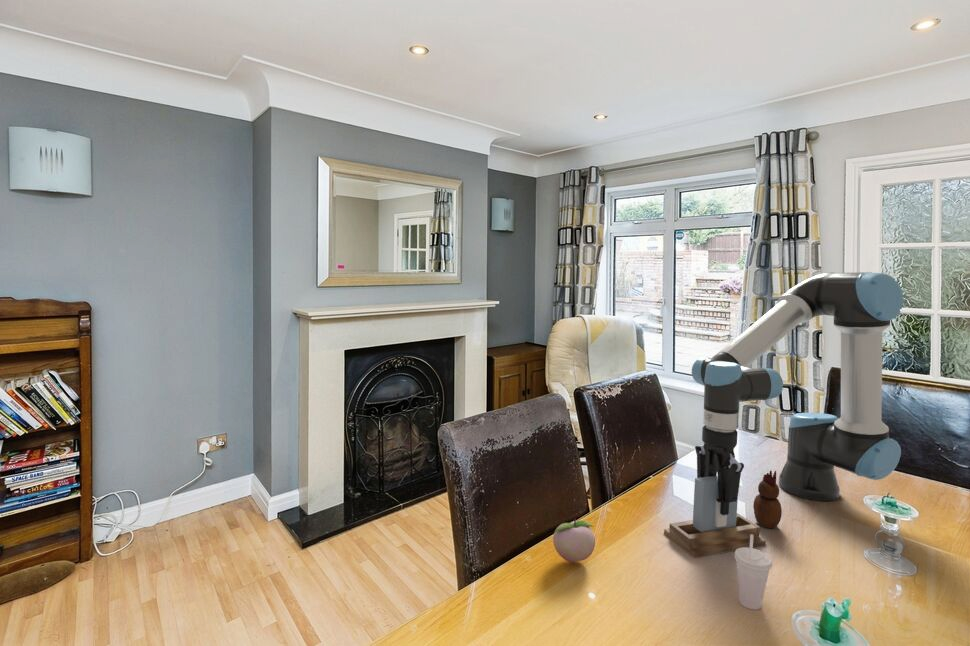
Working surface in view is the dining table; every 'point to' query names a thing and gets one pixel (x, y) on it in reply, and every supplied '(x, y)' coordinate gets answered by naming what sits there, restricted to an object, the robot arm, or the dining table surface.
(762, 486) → the wooden figurine
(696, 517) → the gray rectangular block
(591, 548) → the decorative fruit
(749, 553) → the smoothie
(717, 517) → the robot arm
